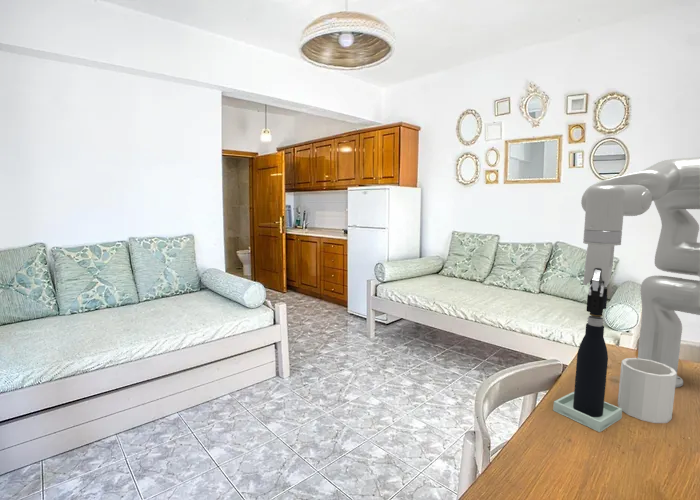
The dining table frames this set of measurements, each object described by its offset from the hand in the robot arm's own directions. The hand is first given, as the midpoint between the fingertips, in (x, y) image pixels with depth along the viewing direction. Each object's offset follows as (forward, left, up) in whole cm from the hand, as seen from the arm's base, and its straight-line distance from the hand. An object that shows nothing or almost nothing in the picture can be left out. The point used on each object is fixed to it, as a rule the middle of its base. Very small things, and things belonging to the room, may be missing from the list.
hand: (596, 307), depth 92 cm
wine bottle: (0, 0, -27) cm, 27 cm away
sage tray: (0, 0, -28) cm, 28 cm away
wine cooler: (-14, +7, -28) cm, 32 cm away
